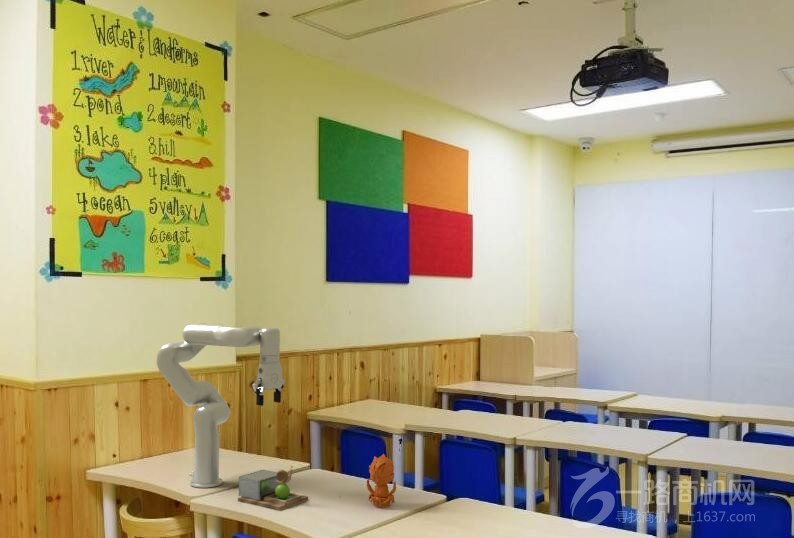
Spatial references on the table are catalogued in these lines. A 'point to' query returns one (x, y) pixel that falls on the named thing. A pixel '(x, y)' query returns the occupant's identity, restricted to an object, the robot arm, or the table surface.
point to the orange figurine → (381, 481)
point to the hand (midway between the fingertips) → (268, 403)
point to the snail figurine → (283, 484)
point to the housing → (257, 484)
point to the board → (275, 501)
